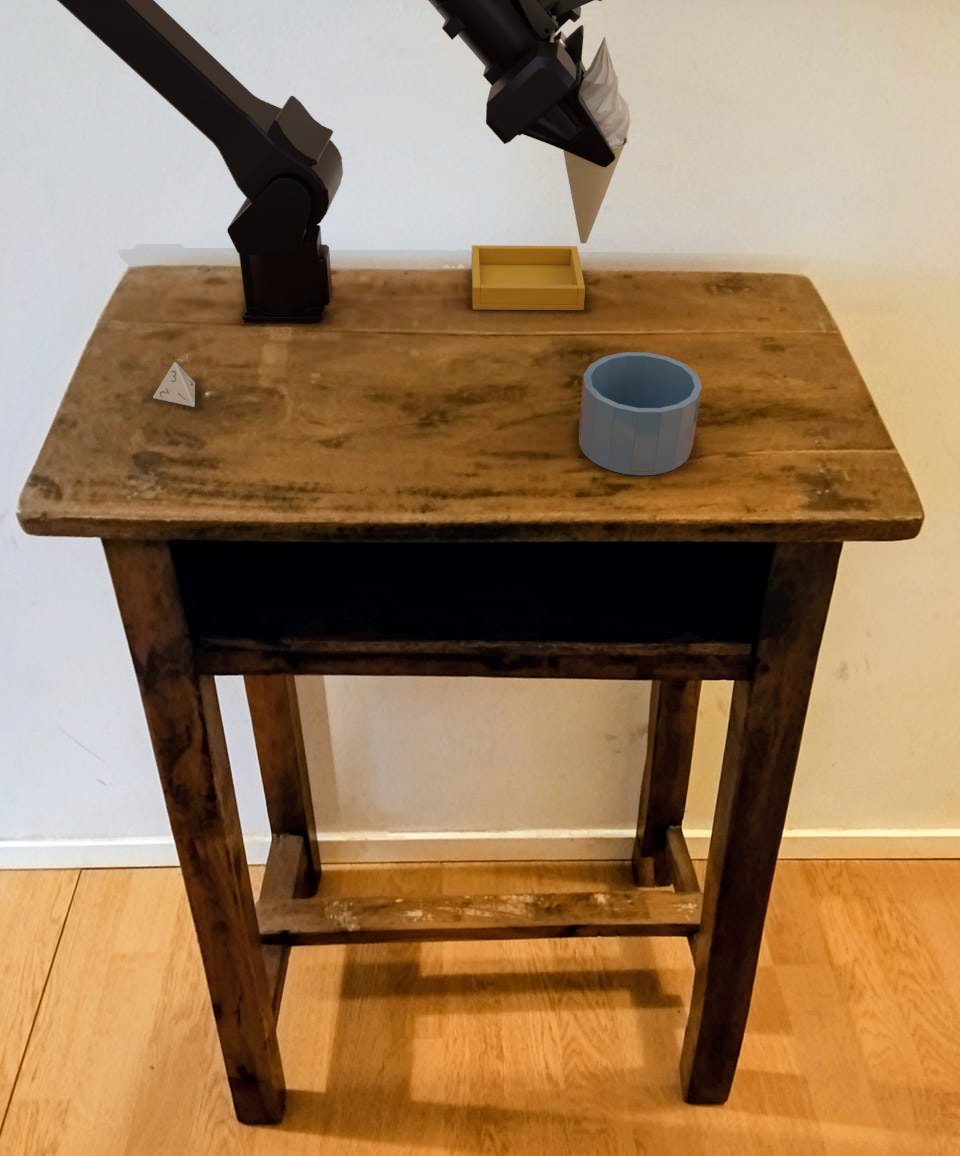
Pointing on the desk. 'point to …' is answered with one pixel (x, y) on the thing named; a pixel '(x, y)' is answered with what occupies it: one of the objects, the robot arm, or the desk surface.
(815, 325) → the desk surface
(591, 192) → the ice cream cone
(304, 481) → the desk surface
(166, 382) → the tetrahedral die
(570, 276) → the tray
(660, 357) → the cup
